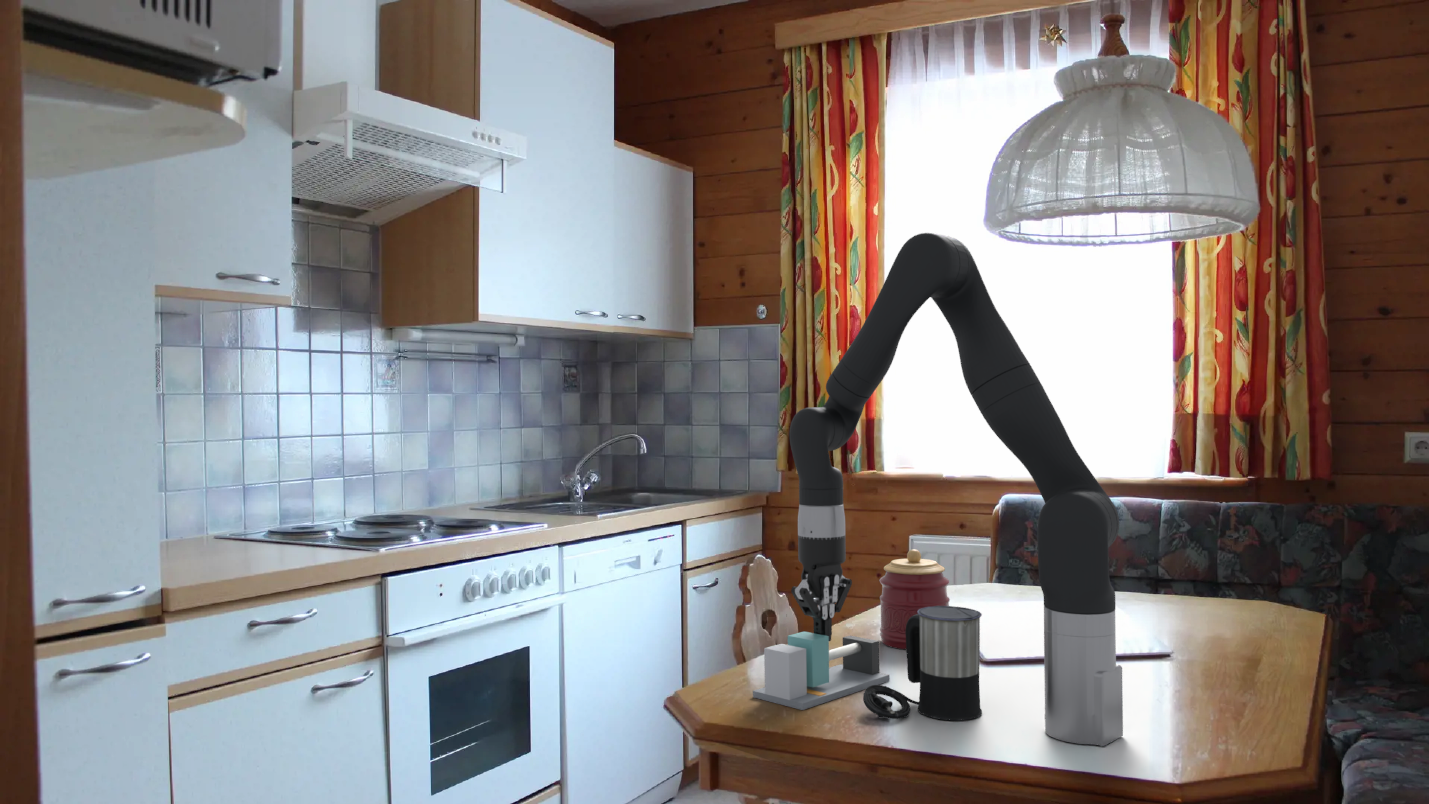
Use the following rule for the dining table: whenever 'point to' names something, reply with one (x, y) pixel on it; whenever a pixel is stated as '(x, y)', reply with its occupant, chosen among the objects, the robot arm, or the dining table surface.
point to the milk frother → (938, 666)
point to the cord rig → (853, 676)
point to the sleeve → (813, 656)
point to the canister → (909, 594)
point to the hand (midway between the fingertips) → (823, 641)
